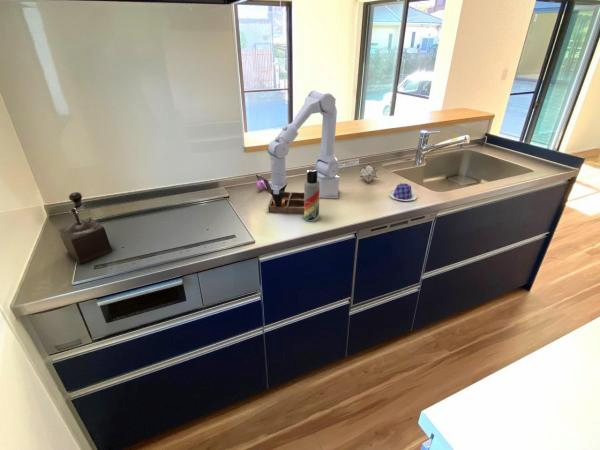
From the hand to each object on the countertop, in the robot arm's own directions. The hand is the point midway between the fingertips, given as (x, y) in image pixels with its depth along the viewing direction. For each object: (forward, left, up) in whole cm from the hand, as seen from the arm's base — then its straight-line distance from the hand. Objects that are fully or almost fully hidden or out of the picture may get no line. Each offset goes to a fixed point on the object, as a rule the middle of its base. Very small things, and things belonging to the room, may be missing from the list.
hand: (279, 203), depth 141 cm
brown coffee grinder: (+60, +35, -3) cm, 70 cm away
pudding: (-53, -17, -3) cm, 55 cm away
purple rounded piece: (+10, -18, -3) cm, 21 cm away
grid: (-4, -4, -2) cm, 6 cm away
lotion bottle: (-14, +7, -3) cm, 16 cm away
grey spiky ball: (-39, -33, -3) cm, 51 cm away
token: (0, 0, -1) cm, 1 cm away
